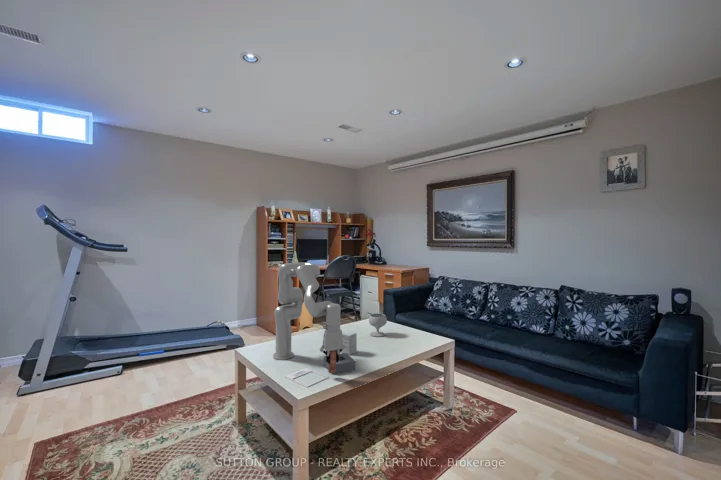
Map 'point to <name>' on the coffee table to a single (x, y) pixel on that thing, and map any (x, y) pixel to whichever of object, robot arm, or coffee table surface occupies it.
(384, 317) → the chalice
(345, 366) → the socket block
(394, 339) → the coffee table surface
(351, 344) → the supplement box
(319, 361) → the coffee table surface
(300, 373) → the photo frame
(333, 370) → the peg
